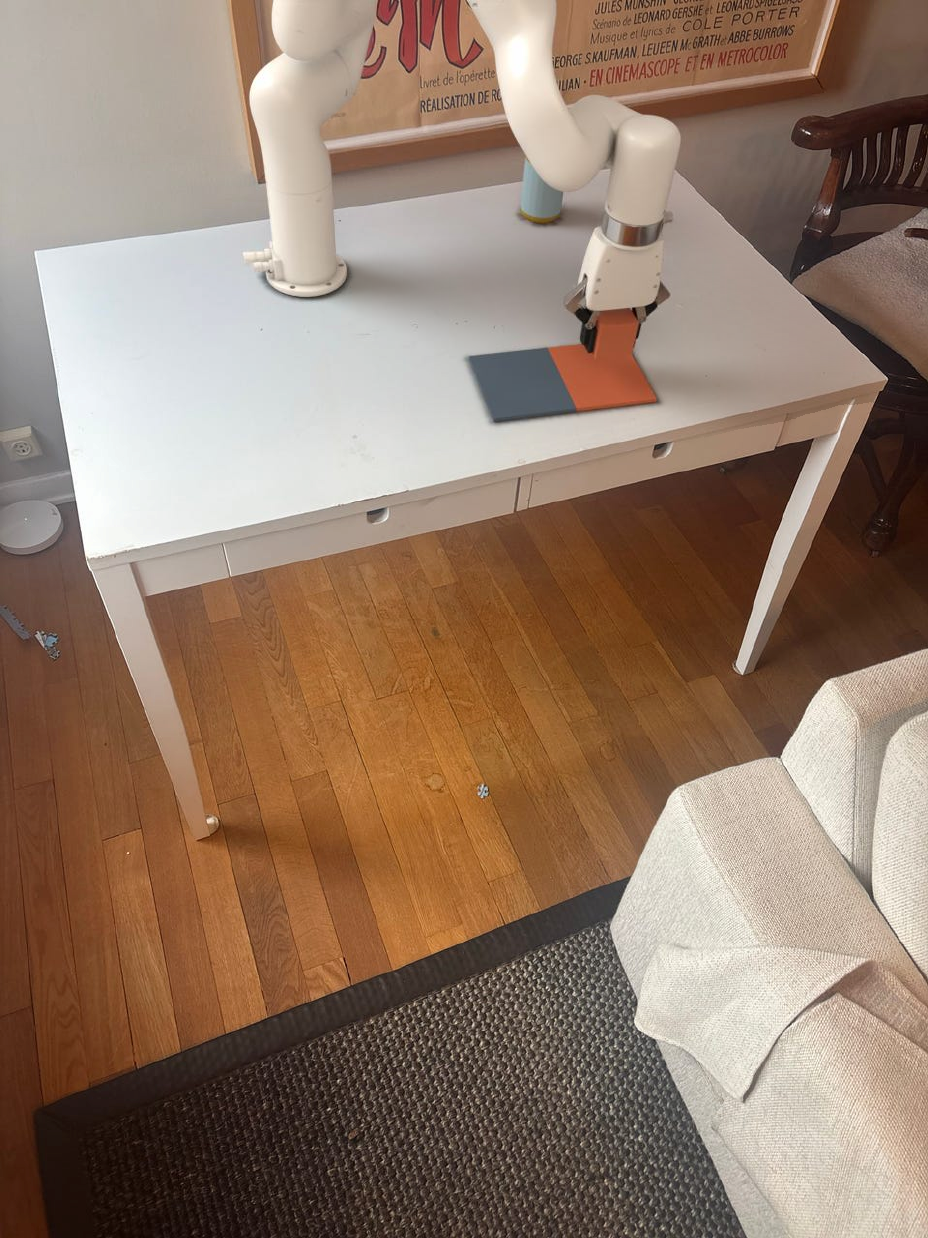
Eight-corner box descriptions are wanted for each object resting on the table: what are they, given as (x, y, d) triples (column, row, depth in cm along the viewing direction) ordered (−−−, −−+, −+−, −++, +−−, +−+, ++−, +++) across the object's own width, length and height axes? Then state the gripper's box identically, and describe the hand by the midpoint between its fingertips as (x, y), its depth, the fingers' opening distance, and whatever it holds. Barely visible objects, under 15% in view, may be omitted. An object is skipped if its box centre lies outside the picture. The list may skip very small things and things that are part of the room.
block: (595, 360, 134) (601, 326, 129) (583, 336, 137) (588, 303, 132) (631, 355, 135) (639, 322, 130) (618, 332, 138) (625, 299, 134)
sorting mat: (493, 421, 132) (493, 418, 132) (468, 359, 140) (468, 355, 140) (656, 401, 137) (657, 398, 136) (622, 342, 145) (623, 338, 144)
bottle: (515, 220, 164) (525, 131, 153) (524, 200, 169) (533, 112, 157) (555, 227, 164) (568, 139, 152) (563, 207, 168) (575, 119, 156)
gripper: (683, 203, 125) (654, 322, 139) (558, 213, 122) (541, 335, 136) (706, 234, 121) (673, 354, 135) (576, 246, 117) (557, 368, 132)
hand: (607, 343), depth 135 cm, fingers closed on block, 5 cm apart
